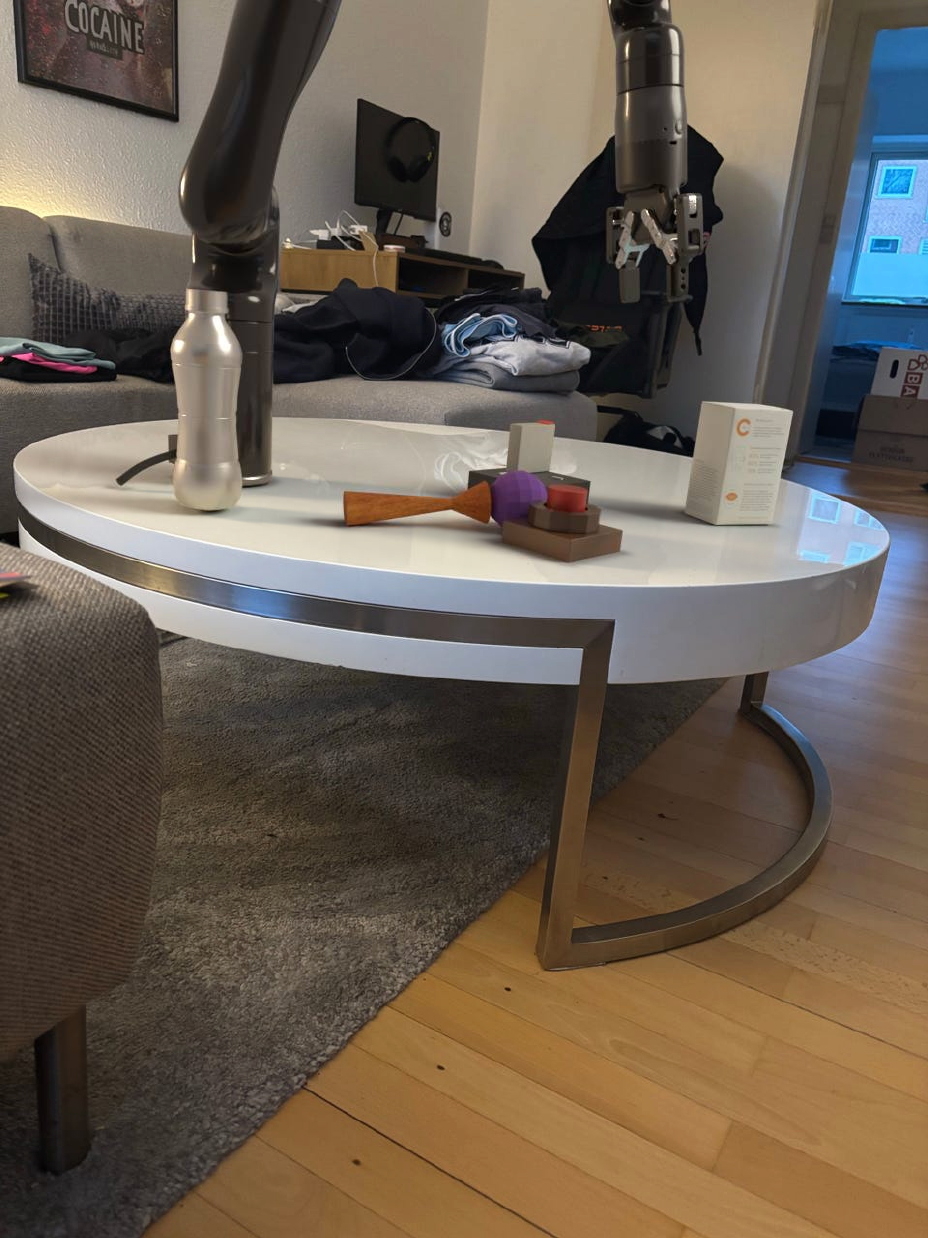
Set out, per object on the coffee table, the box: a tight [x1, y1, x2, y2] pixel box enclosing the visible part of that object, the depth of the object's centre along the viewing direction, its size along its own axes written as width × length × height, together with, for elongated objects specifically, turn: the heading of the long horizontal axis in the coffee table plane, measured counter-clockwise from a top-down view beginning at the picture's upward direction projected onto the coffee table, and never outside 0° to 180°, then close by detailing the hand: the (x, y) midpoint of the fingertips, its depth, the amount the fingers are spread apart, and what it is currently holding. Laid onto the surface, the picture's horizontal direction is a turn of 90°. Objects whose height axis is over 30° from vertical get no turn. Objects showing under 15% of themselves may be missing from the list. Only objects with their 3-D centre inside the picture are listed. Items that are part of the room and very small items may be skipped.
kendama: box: [342, 470, 547, 529], centre depth 89 cm, size 6×6×20 cm
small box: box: [684, 400, 794, 526], centre depth 104 cm, size 8×6×13 cm
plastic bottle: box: [170, 288, 243, 512], centre depth 85 cm, size 6×7×20 cm
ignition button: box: [546, 484, 587, 512], centre depth 84 cm, size 4×4×2 cm
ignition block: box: [500, 499, 624, 564], centre depth 85 cm, size 8×8×4 cm
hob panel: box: [466, 462, 592, 504], centre depth 107 cm, size 12×12×3 cm
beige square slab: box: [505, 420, 556, 473], centre depth 107 cm, size 6×2×6 cm, turn 135°
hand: (653, 301), depth 103 cm, fingers open, 8 cm apart
